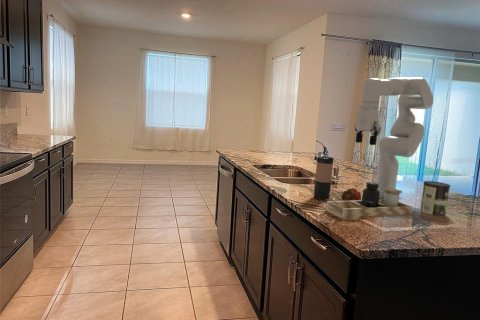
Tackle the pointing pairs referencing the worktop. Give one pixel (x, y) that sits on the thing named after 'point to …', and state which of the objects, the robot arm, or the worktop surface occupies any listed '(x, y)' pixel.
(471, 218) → the worktop surface
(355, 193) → the dragon fruit
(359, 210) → the rack
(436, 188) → the coffee can
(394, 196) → the canister
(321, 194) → the travel mug
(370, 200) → the supplement bottle
